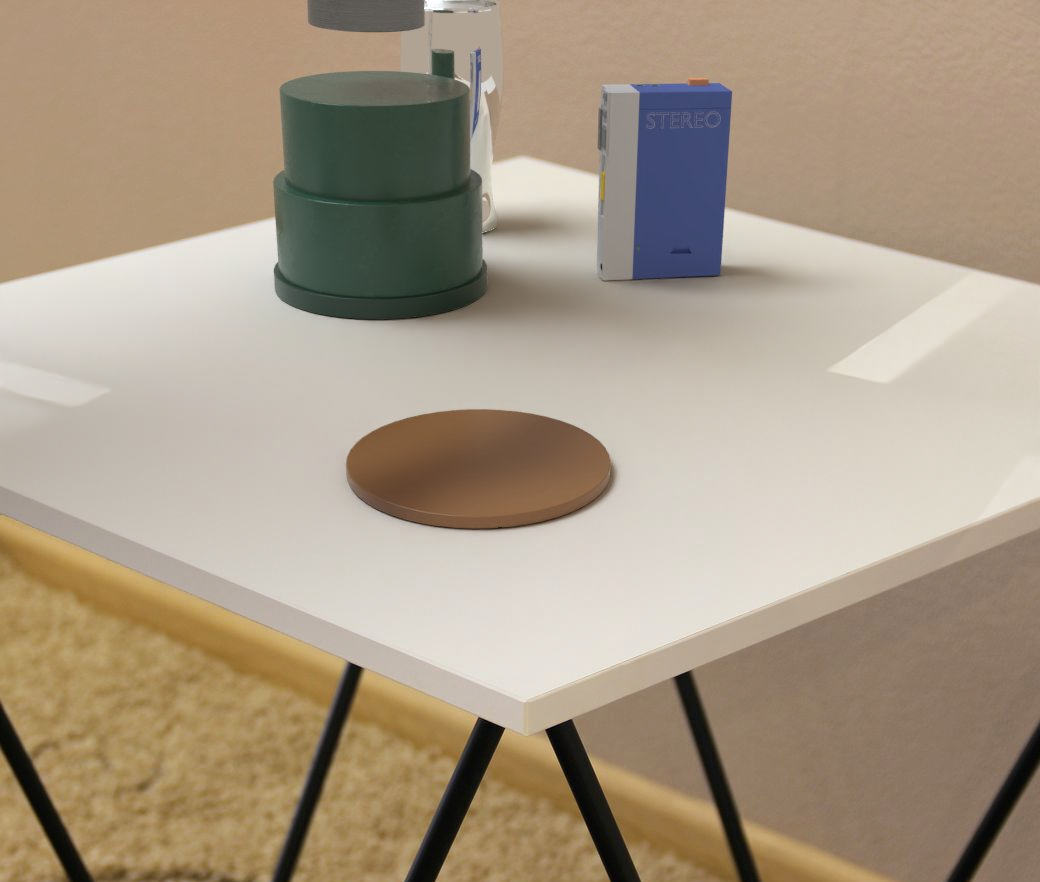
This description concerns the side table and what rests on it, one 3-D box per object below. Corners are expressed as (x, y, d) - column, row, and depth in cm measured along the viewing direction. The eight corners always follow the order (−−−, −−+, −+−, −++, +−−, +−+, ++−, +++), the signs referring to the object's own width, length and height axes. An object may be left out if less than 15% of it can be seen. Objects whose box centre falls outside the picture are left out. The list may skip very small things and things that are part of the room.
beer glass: (448, 207, 111) (445, -8, 105) (523, 224, 108) (525, 2, 101) (383, 226, 106) (376, 1, 100) (459, 244, 102) (457, 12, 96)
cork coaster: (291, 487, 67) (290, 475, 67) (443, 402, 77) (443, 391, 77) (523, 554, 62) (523, 541, 62) (655, 453, 72) (656, 442, 72)
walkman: (708, 263, 100) (719, 76, 95) (720, 276, 98) (733, 85, 92) (591, 268, 98) (596, 78, 93) (600, 280, 96) (606, 86, 91)
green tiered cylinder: (229, 294, 92) (213, 91, 86) (360, 244, 102) (353, 60, 97) (407, 334, 86) (401, 119, 81) (526, 276, 96) (528, 83, 91)
